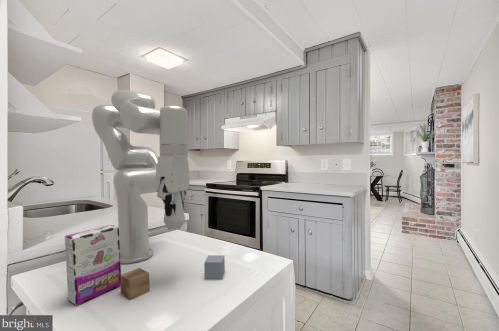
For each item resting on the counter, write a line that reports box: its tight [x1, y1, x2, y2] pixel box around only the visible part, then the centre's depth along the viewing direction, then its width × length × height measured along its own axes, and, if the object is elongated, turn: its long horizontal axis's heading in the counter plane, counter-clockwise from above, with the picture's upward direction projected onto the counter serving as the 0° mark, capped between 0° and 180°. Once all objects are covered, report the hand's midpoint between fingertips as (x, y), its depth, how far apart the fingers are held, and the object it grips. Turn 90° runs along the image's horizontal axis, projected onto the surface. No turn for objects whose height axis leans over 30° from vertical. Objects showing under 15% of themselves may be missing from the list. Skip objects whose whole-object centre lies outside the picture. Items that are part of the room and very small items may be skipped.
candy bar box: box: [64, 224, 122, 306], centre depth 62 cm, size 11×5×16 cm, turn 148°
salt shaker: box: [163, 188, 186, 230], centre depth 68 cm, size 6×6×13 cm
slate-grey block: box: [203, 254, 226, 281], centre depth 71 cm, size 5×5×5 cm
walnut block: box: [120, 267, 151, 301], centre depth 62 cm, size 5×5×5 cm
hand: (174, 215), depth 68 cm, fingers closed on salt shaker, 3 cm apart
